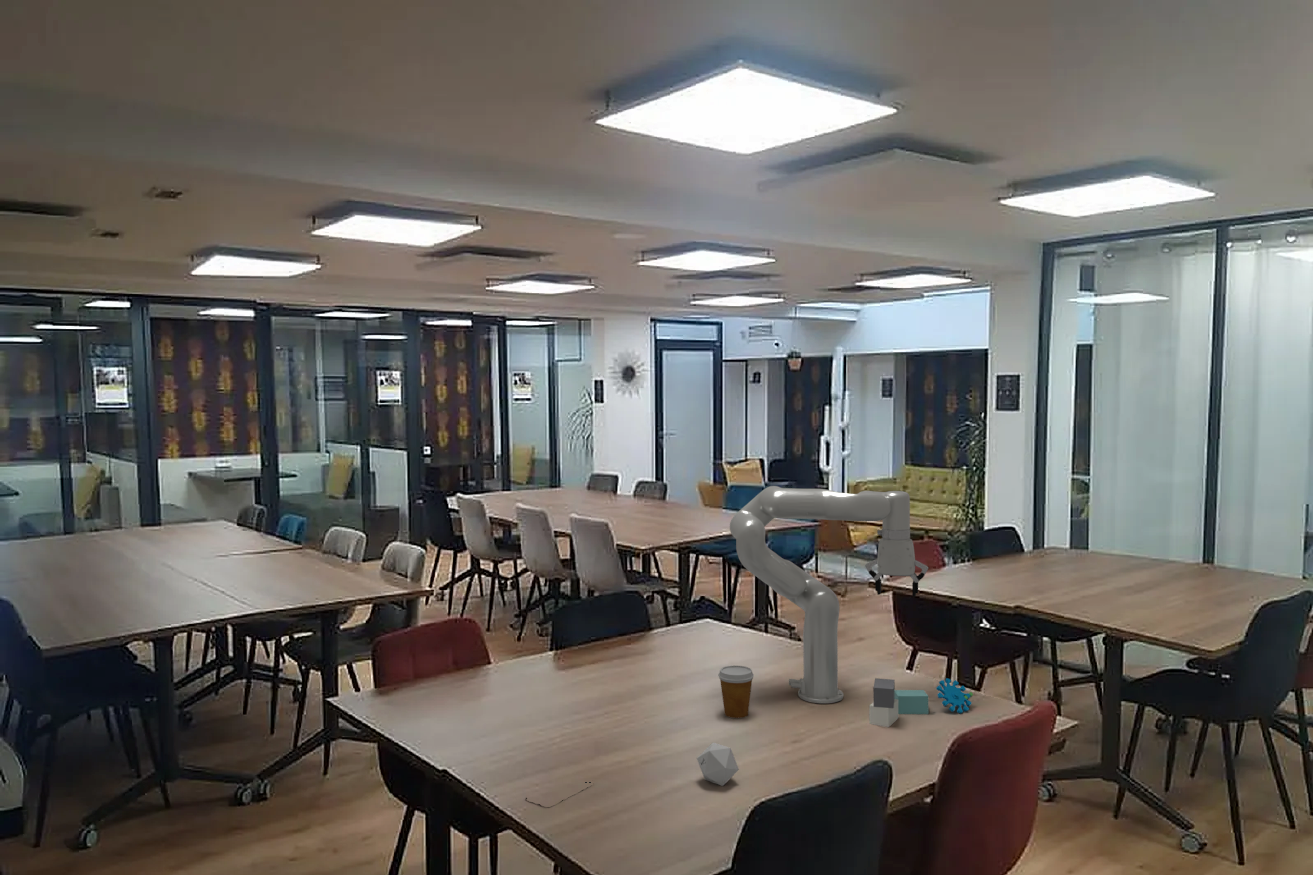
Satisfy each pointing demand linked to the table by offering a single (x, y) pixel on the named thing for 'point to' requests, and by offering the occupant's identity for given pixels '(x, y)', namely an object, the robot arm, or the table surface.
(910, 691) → the teal block
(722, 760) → the die
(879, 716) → the cream block
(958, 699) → the gear
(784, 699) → the table surface
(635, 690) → the table surface
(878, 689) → the charcoal block
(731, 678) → the disposable coffee cup
